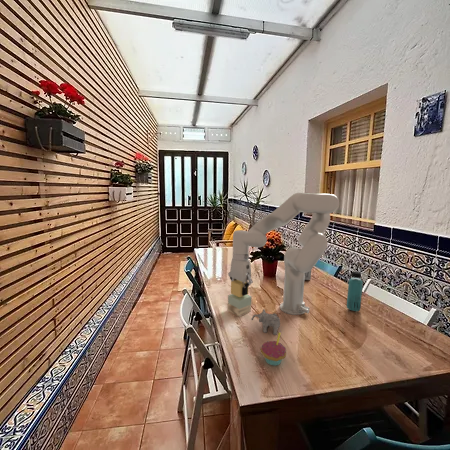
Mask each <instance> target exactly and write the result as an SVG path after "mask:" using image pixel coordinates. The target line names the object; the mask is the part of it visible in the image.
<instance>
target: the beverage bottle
mask: <svg viewBox="0 0 450 450" xmlns="http://www.w3.org/2000/svg"><path fill="white" fill-rule="evenodd" d="M361 277H362V273H361V272H360V271H352V272H351V278H349V279H348V284H347V285H348V286H347V287H348V288H347V296H346V297H347V299H346V309H348V310H350V311H354V312H359V311H360V310H361V309H362V296H363V280H362V279H361Z"/></svg>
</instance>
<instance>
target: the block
mask: <svg viewBox="0 0 450 450" xmlns="http://www.w3.org/2000/svg"><path fill="white" fill-rule="evenodd" d="M245 284H246V282H245ZM242 288H243V284H242V281H239V280H234V281H231V280H230V295H231V294H233V295H235V296H238V297H242ZM249 288H250V287H248V291H249ZM247 295H249V292H248V293H247ZM244 296H245V295H244Z"/></svg>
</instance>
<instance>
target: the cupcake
mask: <svg viewBox="0 0 450 450" xmlns="http://www.w3.org/2000/svg"><path fill="white" fill-rule="evenodd" d="M281 332H282V330H280V331H279V332H278V333H277V338H276V340H268V341H266V342H264V343H263V344H262V345H261V348H260V353H261V355H262V356H263V358H264V359H265V362H266V363H267V364H268V365H270V366H279V365H280V364H281V362H282V361H283V360H284V359H286V356H287V349H286V346H284V344H282V343H281V342H280V338H281V334H282V333H281Z"/></svg>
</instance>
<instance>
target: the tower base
mask: <svg viewBox="0 0 450 450" xmlns="http://www.w3.org/2000/svg"><path fill="white" fill-rule="evenodd" d="M251 307H252V304H251V305H248V306H246V307H243V308H241V309H238V308H236V307H234V306H233V305H231V304H229V303H228V302H227V307H226V308H227V312H229V313H231V314H233V315H235V316H237V317H242V316H244V315H246V314H248V313H250V312H251Z"/></svg>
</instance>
